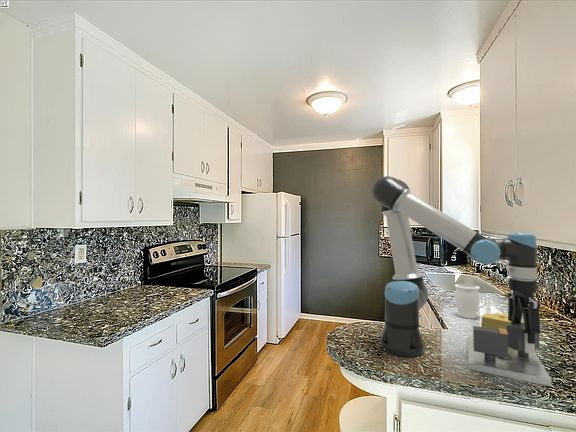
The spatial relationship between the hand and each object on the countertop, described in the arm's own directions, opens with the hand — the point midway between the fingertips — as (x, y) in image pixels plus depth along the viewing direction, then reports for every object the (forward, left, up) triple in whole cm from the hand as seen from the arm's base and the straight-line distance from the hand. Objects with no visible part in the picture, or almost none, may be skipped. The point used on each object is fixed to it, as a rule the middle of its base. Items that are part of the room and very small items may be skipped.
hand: (523, 348), depth 101 cm
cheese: (-5, +16, -4) cm, 17 cm away
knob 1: (-10, -10, -2) cm, 14 cm away
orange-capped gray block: (0, 0, -2) cm, 2 cm away
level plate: (-6, -4, -4) cm, 8 cm away
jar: (-15, +47, -4) cm, 49 cm away
